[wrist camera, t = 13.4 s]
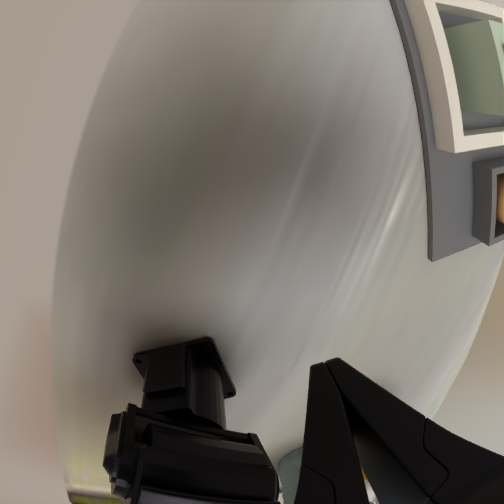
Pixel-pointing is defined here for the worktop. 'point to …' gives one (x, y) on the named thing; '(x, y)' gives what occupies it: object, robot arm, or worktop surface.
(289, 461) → the drinking glass
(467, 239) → the chassis
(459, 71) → the pale green block
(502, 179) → the click button
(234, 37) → the worktop surface
